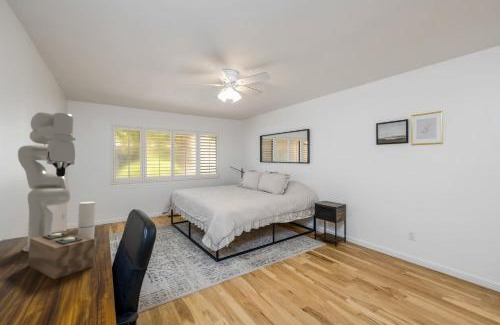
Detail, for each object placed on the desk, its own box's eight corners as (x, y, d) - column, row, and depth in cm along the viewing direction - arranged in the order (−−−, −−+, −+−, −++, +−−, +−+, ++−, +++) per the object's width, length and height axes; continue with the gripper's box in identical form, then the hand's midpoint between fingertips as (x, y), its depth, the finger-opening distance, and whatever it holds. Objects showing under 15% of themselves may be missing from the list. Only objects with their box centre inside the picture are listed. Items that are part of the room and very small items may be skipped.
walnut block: (54, 279, 88) (55, 246, 88) (28, 265, 99) (29, 237, 100) (93, 266, 100) (94, 237, 101) (66, 255, 112) (67, 230, 112)
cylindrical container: (84, 252, 116) (87, 203, 117) (73, 251, 117) (75, 203, 118) (96, 248, 123) (98, 201, 124) (85, 246, 124) (88, 201, 125)
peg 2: (59, 267, 96) (61, 239, 97) (70, 264, 100) (72, 236, 100) (64, 269, 94) (66, 240, 95) (75, 266, 98) (76, 238, 98)
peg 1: (46, 261, 102) (48, 234, 102) (57, 258, 105) (59, 232, 106) (51, 263, 100) (52, 236, 100) (61, 260, 104) (63, 233, 104)
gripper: (76, 141, 119) (74, 176, 118) (39, 137, 105) (37, 176, 105) (83, 140, 115) (81, 176, 114) (46, 136, 102) (44, 177, 101)
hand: (60, 176), depth 110 cm, fingers closed
